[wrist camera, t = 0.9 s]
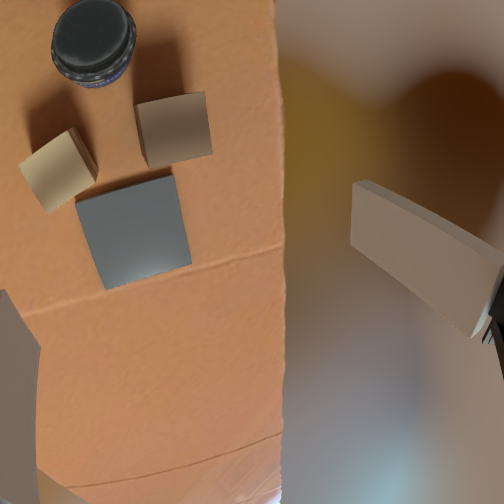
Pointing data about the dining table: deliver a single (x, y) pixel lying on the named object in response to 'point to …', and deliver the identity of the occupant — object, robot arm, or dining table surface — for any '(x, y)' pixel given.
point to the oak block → (60, 170)
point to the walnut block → (173, 129)
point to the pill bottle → (93, 42)
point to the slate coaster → (135, 231)
